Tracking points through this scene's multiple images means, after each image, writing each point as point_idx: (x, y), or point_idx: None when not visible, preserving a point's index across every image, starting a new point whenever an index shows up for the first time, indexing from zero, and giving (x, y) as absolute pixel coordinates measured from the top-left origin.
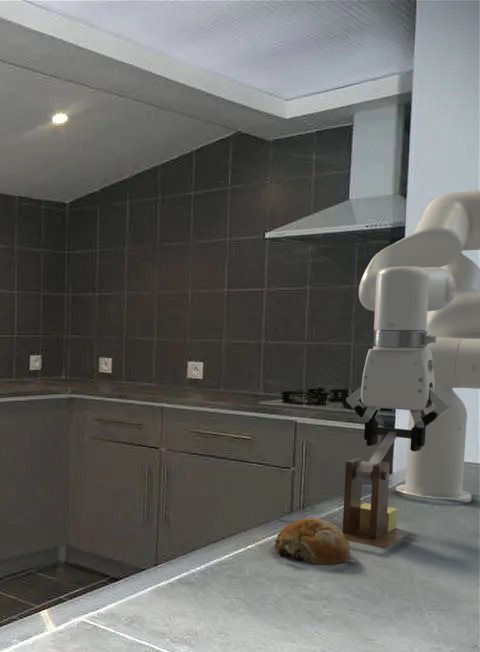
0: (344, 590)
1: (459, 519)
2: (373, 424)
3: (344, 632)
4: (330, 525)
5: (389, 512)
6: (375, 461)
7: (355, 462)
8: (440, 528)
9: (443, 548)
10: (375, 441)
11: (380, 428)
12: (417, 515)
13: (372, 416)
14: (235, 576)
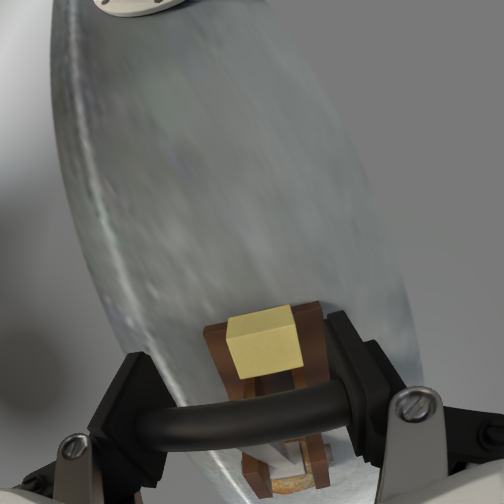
0: (347, 467)
1: (285, 63)
2: (152, 472)
3: (373, 487)
4: (311, 483)
5: (301, 361)
6: (290, 464)
7: (268, 488)
8: (307, 170)
9: (370, 297)
10: (155, 380)
11: (178, 450)
12: (219, 109)
13: (105, 481)
14: (276, 496)
